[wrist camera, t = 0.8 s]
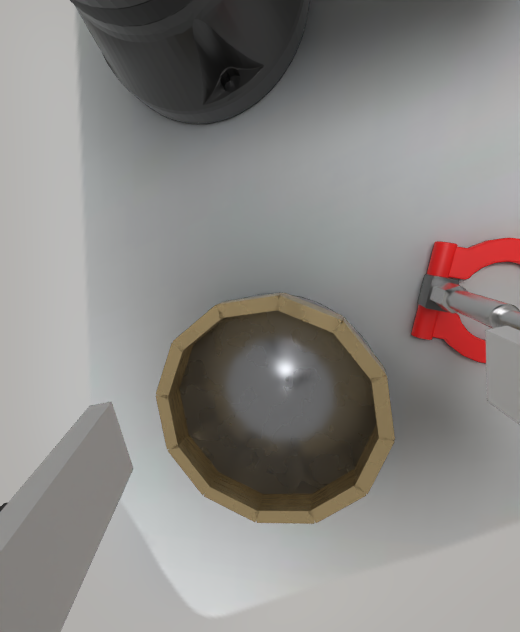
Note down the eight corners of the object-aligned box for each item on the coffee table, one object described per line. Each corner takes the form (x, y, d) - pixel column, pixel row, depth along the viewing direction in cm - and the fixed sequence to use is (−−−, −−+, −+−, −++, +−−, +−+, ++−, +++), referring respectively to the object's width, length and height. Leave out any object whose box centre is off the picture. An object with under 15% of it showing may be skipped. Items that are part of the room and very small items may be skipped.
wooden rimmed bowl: (214, 261, 28) (196, 262, 25) (424, 344, 26) (437, 358, 22) (156, 439, 32) (134, 461, 29) (334, 527, 30) (332, 561, 26)
